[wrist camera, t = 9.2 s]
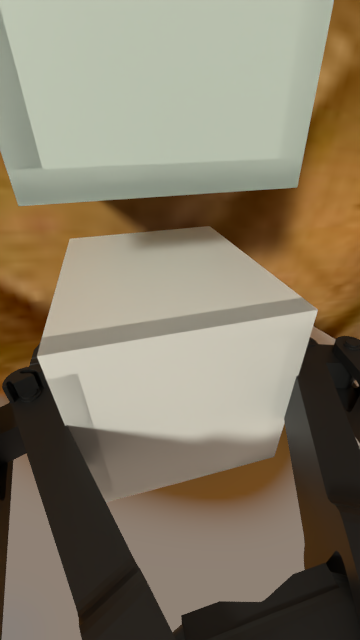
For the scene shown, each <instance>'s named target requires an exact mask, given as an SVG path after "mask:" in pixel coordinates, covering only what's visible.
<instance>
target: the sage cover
mask: <svg viewBox="0 0 360 640" xmlns="http://www.w3.org/2000/svg"><path fill="white" fill-rule="evenodd" d="M333 2H334V0H0V151H1V154H2V157H3V160H4V163H5V166H6V169H7V172H8V175H9V178H10V181H11V184H12V187H13V190H14V193H15V196H16V199H17V203H18V206H28V205H43V204H58V203H73V202H88V201H103V200H118V199H133V198H147V197H162V196H177V195H192V194H207V193H222V192H237V191H252V190H267V189H282V188H297V186H298V181H299V176H300V171H301V166H302V160H303V155H304V150H305V145H306V140H307V135H308V130H309V125H310V120H311V115H312V109H313V104H314V99H315V94H316V89H317V84H318V79H319V74H320V69H321V64H322V58H323V53H324V48H325V43H326V38H327V33H328V28H329V23H330V18H331V13H332V7H333Z"/></svg>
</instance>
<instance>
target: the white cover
mask: <svg viewBox="0 0 360 640" xmlns="http://www.w3.org/2000/svg"><path fill="white" fill-rule="evenodd" d="M317 311H318V309H316V308H315V307H314V306H312V305H311V304H310V303H309V302H307V301H306V300H305V299H303V298H302V297H301V296H300V295H298V294H297V293H296V292H294V291H293V290H292V289H290V288H289V287H288V286H287V285H285V284H284V283H283V282H281V281H280V280H279V279H278V278H276V277H275V276H274V275H272V274H271V273H270V272H268V271H267V270H266V269H265V268H263V267H262V266H261V265H259V264H258V263H257V262H255V261H254V260H253V259H252V258H250V257H249V256H248V255H246V254H245V253H244V252H243V251H241V250H240V249H239V248H237V247H236V246H235V245H233V244H232V243H231V242H230V241H228V240H227V239H226V238H224V237H223V236H222V235H220V234H219V233H218V232H217V231H215V230H214V229H213V228H211V227H210V226H205V227H194V228H183V229H172V230H161V231H150V232H139V233H128V234H117V235H107V236H96V237H85V238H74V239H70V240H69V244H68V247H67V251H66V254H65V258H64V261H63V265H62V268H61V272H60V276H59V279H58V283H57V286H56V290H55V293H54V297H53V300H52V304H51V308H50V311H49V315H48V318H47V322H46V325H45V329H44V332H43V336H42V340H41V343H40V347H39V350H38V354H37V358H38V361H39V363H40V366H41V368H42V370H43V373H44V375H45V378H46V380H47V383H48V385H49V388H50V390H51V393H52V395H53V397H54V400H55V402H56V405H57V407H58V410H59V412H60V415H61V417H62V420H63V422H64V424H65V426H66V425H67V426H68V428H69V430H70V432H71V434H72V436H73V438H74V440H75V442H76V444H77V446H78V448H79V450H80V452H81V454H82V456H83V458H84V460H85V462H86V464H87V466H88V468H89V470H90V472H91V474H92V476H93V478H94V480H95V482H96V484H97V486H98V488H99V490H100V492H101V494H102V496H103V498H104V500H105V502H110V501H114V500H117V499H121V498H125V497H128V496H132V495H136V494H139V493H143V492H147V491H150V490H154V489H157V488H161V487H165V486H169V485H172V484H176V483H180V482H183V481H187V480H191V479H194V478H198V477H202V476H205V475H209V474H213V473H216V472H220V471H223V470H227V469H231V468H234V467H238V466H242V465H246V464H249V463H253V462H257V461H260V460H264V459H268V458H271V457H274V455H275V452H276V449H277V445H278V442H279V439H280V435H281V432H282V429H283V425H284V422H285V421H284V417H285V414H286V410H287V407H288V403H289V400H290V397H291V393H292V390H293V386H294V383H295V380H296V376H298V375H299V372H300V368H301V365H302V362H303V358H304V355H305V352H306V348H307V345H308V342H309V338H310V335H311V332H312V328H313V325H314V322H315V318H316V315H317Z"/></svg>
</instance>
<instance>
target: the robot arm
mask: <svg viewBox="0 0 360 640" xmlns="http://www.w3.org/2000/svg"><path fill="white" fill-rule="evenodd" d="M39 347H40V344H39V345H38V346H37V347H36V348H35V350H34V352H33V355H32V359H31V362H30V365H29V367H25V368H22V369H19V370H17V371H15V372H13V373H11V374H10V375H9V376H8V377H7V378H6V379H5V380H4V382H3V386H2V388H3V390H4V392H5V394H6V396H7V398H8V399H9V401H10V403H8V404H6V405H5V406H2V407H0V640H1V636H2V622H3V606H4V591H5V576H6V561H7V546H8V530H9V515H10V501H11V484H12V470H13V460H14V459H16V458H18V457H20V456H22V455H23V454H26V453H27V456H28V459H29V462H30V465H31V468H32V471H33V474H34V477H35V481H36V484H37V487H38V490H39V493H40V496H41V499H42V502H43V505H44V508H45V512H46V515H47V518H48V521H49V524H50V527H51V530H52V533H53V537H54V540H55V543H56V546H57V549H58V552H59V555H60V558H61V561H62V564H63V568H64V571H65V574H66V577H67V580H68V583H69V587H70V590H71V593H72V596H73V599H74V602H75V605H76V609H77V612H78V617H79V628H80V633H81V637H82V640H360V448H359V446H358V443H357V441H356V439H357V440H358V442H359V443H360V340H359V339H357V338H354V337H349V336H342V337H338V338H337V339H336V340H335V343H334V345H325V344H318V343H317V342H316V341H315V340H314V339H313V338H311V337H310V338H309V342H308V345H307V348H306V352H305V355H304V358H303V362H302V365H301V368H300V372H299V375H298V376H296V380H295V383H294V386H293V390H292V393H291V397H290V400H289V403H288V407H287V410H286V414H285V417H284V421H285V426H286V433H287V438H288V444H289V450H290V456H291V461H292V467H293V474H294V479H295V485H296V491H297V497H298V503H299V508H300V514H301V520H302V526H303V532H304V540H305V548H304V567H305V570H304V571H301V572H299V573H296V574H293V575H292V576H291V577H290V578H289V579H288V580H287V581H285V582H284V583H283V584H282V585H281V586H280V587H279V588H278V589H276V590H275V591H274V593H272V594H271V595H270V596H269V597H268V598H267V599H265V600H264V601H262V602H217V603H214V604H212V605H209V606H206V607H204V608H201V609H198V610H195V611H192V612H190V613H187V614H184V615H182V616H181V617H182V625H180V626H179V627H178V628H177V629H176V630H175V631H174V632H173V633H172V631H171V629H170V627H169V625H168V623H167V621H166V619H165V617H164V615H163V613H162V611H161V609H160V607H159V605H158V603H157V601H156V599H155V597H154V595H153V593H152V591H151V589H150V587H149V585H148V584H147V581H146V579H145V578H144V576H143V574H142V572H141V570H140V568H139V567H138V566H137V564H136V562H135V560H134V558H133V556H132V554H131V552H130V550H129V548H128V546H127V544H126V542H125V540H124V538H123V536H122V534H121V532H120V530H119V528H118V526H117V524H116V522H115V520H114V518H113V516H112V514H111V512H110V510H109V508H108V506H107V504H106V502H105V500H104V498H103V496H102V494H101V492H100V490H99V488H98V486H97V484H96V482H95V480H94V478H93V476H92V474H91V472H90V470H89V468H88V466H87V464H86V462H85V460H84V458H83V456H82V454H81V452H80V450H79V448H78V446H77V444H76V442H75V440H74V438H73V436H72V434H71V432H70V430H69V428H68V426H67V425H66V426H65V424H64V422H63V420H62V417H61V415H60V412H59V410H58V407H57V405H56V402H55V400H54V397H53V395H52V393H51V390H50V388H49V385H48V383H47V380H46V378H45V375H44V373H43V370H42V368H41V366H40V363H39V361H38V358H37V354H38V350H39ZM355 380H356V381H357V383H358V384H359V387H358V386H357V385H356V384H355V383H354V381H355ZM355 437H356V438H355Z"/></svg>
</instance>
